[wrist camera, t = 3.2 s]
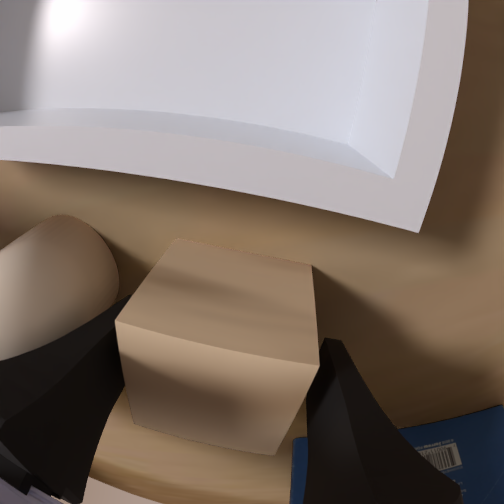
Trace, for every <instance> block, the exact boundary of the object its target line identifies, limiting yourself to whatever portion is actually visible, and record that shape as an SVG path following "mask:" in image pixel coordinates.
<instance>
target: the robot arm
mask: <svg viewBox="0 0 504 504" xmlns="http://www.w3.org/2000/svg"><path fill="white" fill-rule="evenodd" d="M132 296H133V295H129V296H127V297H125V298H124V299H122V300H121V301H119V302H118V303H116V304H115V305H113V306H112V307H110V308H108V309H107V310H105V311H104V312H102V313H101V314H99V315H98V316H96V317H95V318H93V319H91V320H90V321H88V322H87V323H85V324H83V325H82V326H80V327H78V328H76V329H75V330H73V331H71V332H70V333H68V334H66V335H64V336H62V337H60V338H58V339H56V340H54V341H52V342H50V343H48V344H46V345H44V346H41V347H39V348H37V349H34V350H31V351H29V352H26V353H23V354H20V355H18V356H15V357H12V358H8V359H5V360H1V361H0V504H63V503H61V502H59V501H58V500H56V499H54V498H52V497H51V495H52V496H54V497H56V498H58V499H63V500H65V501H67V502H69V503H71V504H80V503H82V501H83V496H84V492H85V488H86V483H87V479H88V475H89V472H90V468H91V465H92V461H93V458H94V455H95V452H96V449H97V446H98V443H99V440H100V437H101V435H102V432H103V429H104V427H105V424H106V422H107V419H108V417H109V414H110V412H111V410H112V408H113V406H114V405H115V403H116V401H117V399H118V397H119V395H120V394H121V392H122V390H123V388H124V387H125V381H124V376H123V370H122V365H121V359H120V353H119V347H118V340H117V333H116V326H115V319H116V318H117V316H118V315H119V314H120V312H121V311H122V309H123V308H124V307H125V305H126V304H127V302H128V301H129V300H130V298H131V297H132ZM319 363H320V366H319V368H318V371H317V373H316V375H315V377H314V379H313V381H312V383H311V385H310V388H309V390H308V392H307V396H306V411H307V438H308V464H307V474H306V484H305V491H304V498H303V504H464V502H463V497H462V492H461V488H460V485H459V484H457V483H456V482H454V481H453V480H452V479H450V478H449V477H447V476H446V475H445V474H443V473H442V472H441V471H439V470H438V469H437V468H436V467H434V466H433V465H432V464H431V463H430V462H429V461H427V460H426V459H425V458H424V457H423V456H422V455H421V454H420V453H419V452H418V451H417V450H416V449H415V448H414V447H413V446H412V445H411V444H410V443H409V442H408V441H407V440H406V439H405V438H404V437H403V436H402V434H401V433H400V432H399V431H398V430H397V429H396V427H395V426H394V425H393V423H392V422H391V421H390V420H389V418H388V417H387V416H386V415H385V413H384V412H383V410H382V409H381V408H380V406H379V405H378V403H377V402H376V400H375V399H374V397H373V395H372V394H371V392H370V391H369V389H368V387H367V386H366V384H365V382H364V381H363V379H362V377H361V375H360V374H359V372H358V370H357V368H356V366H355V365H354V363H353V361H352V359H351V357H350V355H349V354H348V352H347V350H346V348H345V346H344V344H343V343H342V341H341V340H336V339H330V338H324V341H323V343H322V345H321V348H320V350H319Z"/></svg>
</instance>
